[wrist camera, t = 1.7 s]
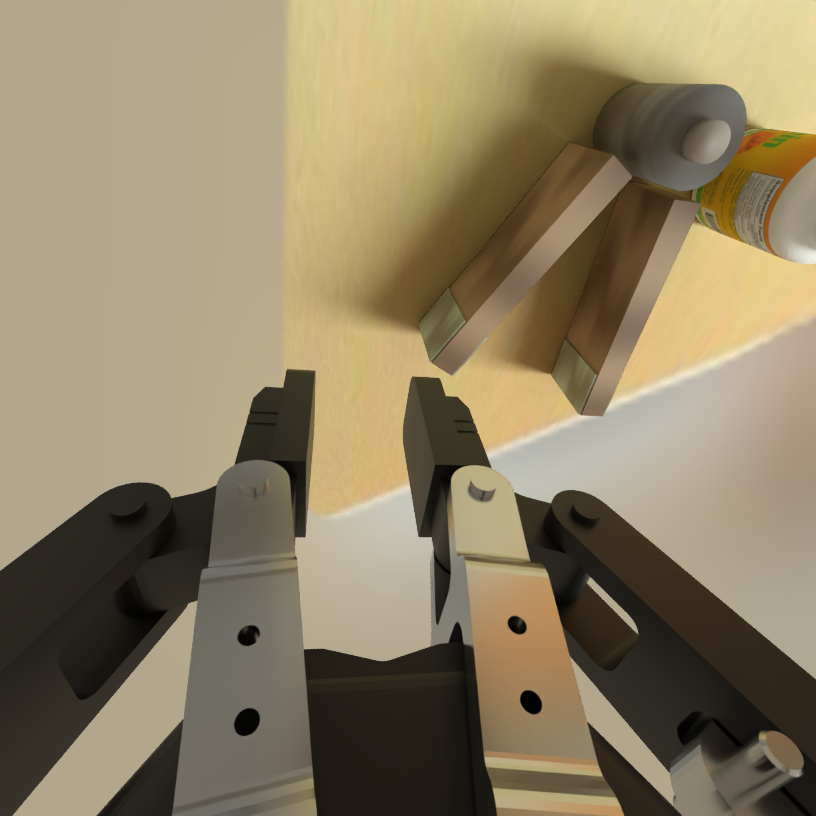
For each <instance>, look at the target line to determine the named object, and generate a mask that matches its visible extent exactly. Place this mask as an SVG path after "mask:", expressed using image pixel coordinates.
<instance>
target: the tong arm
mask: <svg viewBox="0 0 816 816" xmlns="http://www.w3.org/2000/svg"><path fill="white" fill-rule="evenodd" d="M631 178H632V175H631V174H630V173H629V172H628V171H627V170H626V169H625V167H624V166H623V165H622V164H621V163H620V162H619V160H618V159H617V158H616V157H615V156H614V155H613V154H609V153H605V152H602V151H598V150H595V149H591V148H588V147H584V146H580V145H577V144H573V143H570V142H569V144H568V145H567V146H566V147H565V148H564V150H563V151H562V152H561V153H560V155H559V156H558V157H557V158H556V159H555V161H554V162H553V163H552V164H551V165H550V167H549V168H548V169H547V170H546V172H545V173H544V174H543V175H542V176H541V178H540V179H539V180H538V181H537V183H536V184H535V185H534V186H533V187H532V189H531V190H530V191H529V192H528V194H527V195H526V196H525V197H524V198H523V200H522V201H521V202H520V203H519V205H518V206H517V207H516V208H515V209H514V211H513V212H512V213H511V214H510V215H509V217H508V218H507V219H506V220H505V222H504V223H503V224H502V225H501V226H500V228H499V229H498V230H497V231H496V233H495V234H494V235H493V236H492V237H491V239H490V240H489V241H488V242H487V244H486V245H485V246H484V247H483V248H482V250H481V251H480V252H479V253H478V255H477V256H476V257H475V258H474V259H473V261H472V262H471V263H470V264H469V266H468V267H467V268H466V269H465V270H464V272H463V273H462V274H461V275H460V276H459V278H458V279H457V280H456V281H455V283H454V284H453V285H452V286H451V287H450V289H449V288H448V289H447V290H446V291H445V292H444V293H443V295H442V296H441V297H440V298H439V300H438V301H437V302H436V303H435V304H434V306H433V307H432V308H431V309H430V311H429V312H428V313H427V314H426V315H425V317H424V318H423V319H422V320H421V322H420V323H419V324H418V325H419V328H420V331H421V334H422V338H423V341H424V344H425V347H426V351H427V354H428V357H429V360H430V361H431V362H432V363H433V364H434V365H436V366H437V367H439V368H441V369H442V370H444V371H445V372H447V373H448V374H450V375H453V376H454V375H455V373H456V372H457V371H458V370H459V369H460V368H461V367H462V366H463V365H464V364H465V362H466V361H467V360H468V359H469V358H470V357H471V356H472V355H473V354H474V353H475V352H476V350H477V349H478V348H479V347H480V346H481V345H482V344H483V343H484V342H485V341H486V339H487V338H488V335H489V334H490V333H491V332H492V331H493V330H494V329H495V327H496V326H497V325H498V324H499V323H500V322H501V321H502V320H503V319H504V318H505V316H506V315H507V314H508V313H509V312H510V311H511V310H512V309H513V308H514V307H515V305H516V304H517V303H518V302H519V301H520V300H521V299H522V298H523V297H524V296H525V294H526V293H527V292H528V291H529V290H530V289H531V288H532V287H533V286H534V285H535V284H536V282H537V281H538V280H539V279H540V278H541V277H542V276H543V275H544V274H545V273H546V271H547V270H548V269H549V268H550V267H551V266H552V265H553V264H554V263H555V262H556V260H557V259H558V258H559V257H560V256H561V255H562V254H563V253H564V252H565V251H566V249H567V248H568V247H569V246H570V245H571V244H572V243H573V242H574V241H575V240H576V238H577V237H578V236H579V235H580V234H581V233H582V232H583V231H584V230H585V229H586V228H587V226H588V225H589V224H590V223H591V222H592V221H593V220H594V219H595V218H596V217H597V215H598V214H599V213H600V212H601V211H602V210H603V209H604V208H605V207H606V206H607V204H608V203H609V202H610V201H611V200H612V199H613V198H614V197H615V196H616V195H617V193H618V192H619V191H620V190H621V189H622V188H623V187H624V186H625V185H626V184H627V182H628V181H629V180H630V179H631Z"/></svg>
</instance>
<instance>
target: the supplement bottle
mask: <svg viewBox="0 0 816 816" xmlns="http://www.w3.org/2000/svg"><path fill="white" fill-rule="evenodd" d="M692 200H693V201H696V202H699V203H702V204H701V206H700V208H699V210H698V212H697V215H696V217H697V219H698V220H699V221H700V222H701V223H702V224H703V225H704V226H706V227H708V228H710V229H712V230H714V231H716V232H719V233H721V234H724V235H726V236H728V237H731V238H734V239H736V240H738V241H741V242H743V243H746V244H748V245H751V246H753V247H756V248H758V249H761V250H763V251H766V252H768V253H771V254H773V255H775V256H778V257H780V258H782V259H785V260H788V261H792V262H796V263H801V264H814V263H816V135H813V134H804V133H796V132H788V131H780V130H773V129H751V130H747V131H745V133H744V136H743V139H742V142H741V144H740V147H739V149H738V151H737V152H736V154H735V156H734V157H733V159H732V160H731V162H730V163H729V164H728V166H727V167H726V168H725V169H724V170H723V171H722V172H721V173H720V174H719V175H718V176H717V177H715V178H714V179H713V180H712V181H710V182H708V183H707V184H705V185H703V186H701V187H699V188H696V189H693V192H692Z"/></svg>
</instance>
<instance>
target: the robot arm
mask: <svg viewBox="0 0 816 816" xmlns="http://www.w3.org/2000/svg"><path fill="white" fill-rule="evenodd" d="M314 415H315V371H310V370H293V369H287V371H286V376H285V381H284V387H283V388H275V387H265V388H264V389H262V390H261V391H260V392H259V393H258V394H257V395H256V396H255V397H254V398H253V401H252V405H251V408H250V414H249V415H248V419H247V424H246V426H245V430H244V433H243V437H242V440H241V444H240V447H239V451H238V455H237V458H236V462H235V465H234V466H233V467H231V468H229V469H228V470H226V471H225V472H224V473H223V474H222V475H221V477H220V478H219V480H218V483H217V485H216V486H214V487H212V488H210V489H207V490H205V491H201V492H198V493H194V494H189V495H185V496H180V497H175V498H171V497H170V494H169V493H168V492H167V491H166V490H165V489H164V488H162V487H160V486H158V485H155V484H152V483H130V484H125V485H121V486H118V487H115V488H113V489H110V490H108V491H107V492H105V493H103V494H102V495H100V496H99V497H97V498H96V499H95V500H93V501H92V502H90V503H89V504H88V505H87V506H85V507H84V508H83V509H82V510H80V511H79V512H77V513H76V514H75V515H73V516H72V517H71V518H69V519H68V520H67V521H66V522H64V523H63V524H61V525H60V526H59V527H58V528H56V529H55V530H54V531H52V532H51V533H50V534H48V535H47V536H46V537H44V538H43V539H42V540H40V541H39V542H38V543H37V544H35V545H34V546H33V547H31V548H30V549H29V550H27V551H26V552H24V553H23V554H22V555H21V556H19V557H18V558H17V559H15V560H14V561H13V562H11V563H10V564H9V565H7V566H6V567H5V568H4V569H2V570H1V571H0V816H12V815H13V814H14V813H15V812H16V811H17V809H18V808H19V807H20V806H21V805H22V803H23V802H24V801H25V800H26V799H27V797H28V796H29V795H30V794H31V793H32V791H33V790H34V789H35V788H36V787H37V786H38V784H39V783H40V782H41V781H42V780H43V778H44V777H45V776H46V775H47V774H48V772H49V771H50V770H51V769H52V768H53V766H54V765H55V764H56V763H57V761H58V760H59V759H60V758H61V757H62V756H63V754H64V753H65V752H66V751H67V750H68V748H69V747H70V746H71V745H72V744H73V742H74V741H75V740H76V739H77V738H78V736H79V735H80V734H81V733H82V732H83V731H84V729H85V728H86V727H87V726H88V724H89V723H90V722H91V721H92V720H93V719H94V717H95V716H96V715H97V714H98V713H99V711H100V710H101V709H102V708H103V707H104V705H105V704H106V703H107V702H108V701H109V700H110V698H111V697H112V696H113V695H114V694H115V692H116V691H117V690H118V689H119V688H120V686H121V685H122V684H123V683H124V682H125V680H126V679H127V678H128V677H129V676H130V674H131V673H132V672H133V671H134V670H135V668H136V667H137V666H138V665H139V664H140V662H141V661H142V660H143V659H144V658H145V657H146V655H147V654H148V653H149V652H150V650H151V649H152V648H153V647H154V646H155V645H156V643H157V642H158V641H159V640H160V639H161V637H162V636H163V635H164V634H165V633H166V631H167V630H168V629H169V628H170V627H171V625H172V624H173V623H174V622H175V621H176V620H177V618H178V617H179V616H180V615H181V613H182V612H183V611H184V610H185V608H186V607H187V605H188V603H191V602H194V601H197V600H198V602H197V610H196V618H195V627H194V635H193V643H192V652H191V661H190V669H189V678H188V686H187V695H186V703H185V711H184V719H183V720H182V721H181V722H180V723H179V724H178V725H177V727H176V728H175V729H174V730H173V731H172V732H171V733H170V734H169V735H168V737H167V738H166V739H165V740H164V741H163V742H162V743H161V744H160V746H159V747H158V748H157V749H156V750H155V751H154V752H153V753H152V754H151V756H150V757H149V758H148V759H147V760H146V761H145V762H144V763H143V764H142V766H141V767H140V768H139V769H138V770H137V771H136V772H135V773H134V775H133V776H132V777H131V778H130V779H129V780H128V781H127V783H126V784H125V785H124V786H123V787H122V788H121V789H120V790H119V792H117V794H116V795H115V796H114V797H113V798H112V799H111V800H110V801H109V802H108V804H107V805H106V806H105V807H104V808H103V809H102V810H101V811H100V812H99V814H98V815H97V816H816V679H814V678H813V677H812V676H811V675H810V674H809V673H807V672H806V671H805V670H804V669H803V668H801V667H800V666H799V665H798V664H797V663H795V662H794V661H793V660H792V659H791V658H789V657H788V656H787V655H786V654H785V653H783V652H782V651H781V650H780V649H779V648H777V647H776V646H775V645H774V644H772V643H771V642H770V641H769V640H768V639H767V638H765V637H764V636H763V635H762V634H760V633H759V632H758V631H757V630H756V629H755V628H753V627H752V626H751V625H750V624H749V623H747V622H746V621H745V620H744V619H742V618H741V617H740V616H739V615H738V614H737V613H735V612H734V611H733V610H732V609H730V608H729V607H728V606H727V605H726V604H725V603H723V602H722V601H721V600H720V599H719V598H717V597H716V596H715V595H714V594H713V593H711V592H710V591H709V590H708V589H707V588H706V587H704V586H703V585H702V584H701V583H699V582H698V581H697V580H696V579H695V578H693V577H692V576H691V575H690V574H689V573H688V572H686V571H685V570H684V569H683V568H681V567H680V566H679V565H678V564H677V563H675V562H674V561H673V560H672V559H671V558H670V557H668V556H667V555H666V554H665V553H664V552H662V551H661V550H660V549H659V548H657V547H656V546H655V545H654V544H653V543H652V542H650V541H649V540H648V539H647V538H645V537H644V536H643V535H642V534H640V533H639V532H638V531H637V530H635V528H633V527H632V526H631V525H630V524H629V523H628V522H626V521H625V520H624V519H623V518H622V517H620V516H619V515H618V514H617V513H615V512H614V511H613V510H612V509H611V508H610V507H608V506H607V505H606V504H605V503H603V502H602V501H601V500H599V499H597V498H596V497H594V496H592V495H590V494H587V493H584V492H580V491H575V490H567V491H562V492H560V493H558V494H557V495H556V496H555V497H554V498H553V500H552V502H551V504H550V503H547V502H543V501H539V500H535V499H532V498H528V497H525V496H521V495H519V494H517V493H515V492H514V490H513V487H512V485H511V484H510V482H509V481H508V480H507V479H506V478H505V477H504V476H503V475H502V474H500V473H499V472H497V471H495V470H493V469H492V468H491V465H490V463H489V460H488V457H487V455H486V452H485V450H484V447H483V444H482V442H481V439H480V436H479V434H477V429H476V426H475V423H473V418H472V416H471V413H470V410H469V408H468V407H467V406H466V405H465V404H464V403H463V402H462V401H461V400H460V399H459V398H458V397H450V396H445V393H444V390H443V386H442V383H441V380H440V379H439V378H430V377H412V379H411V382H410V387H409V393H408V399H407V406H406V412H405V418H404V425H403V445H404V451H405V457H406V463H407V469H408V475H409V481H410V487H411V494H412V499H413V506H414V512H415V518H416V524H417V530H418V536H419V537H432V541H433V547H434V548H433V552H432V555H431V559H430V573H431V574H430V575H431V577H430V578H431V625H432V626H431V628H432V632H431V647H428V648H425V649H422V650H419V651H416V652H413V653H410V654H407V655H404V656H401V657H398V658H396V659H392V660H389V661H376V660H371V659H367V658H362V657H358V656H353V655H349V654H345V653H340V652H336V651H331V650H326V649H305V650H304V647H303V635H302V620H301V607H300V593H299V580H298V566H297V558H296V556H295V537H305V535H306V523H307V511H308V499H309V487H310V475H311V463H312V451H313V438H314ZM590 577H591V578H592V579H593V580H594V581H595V582H596V583H597V584H598V585H599V586H600V587H601V588H602V589H604V591H605V592H606V593H607V594H608V595H609V596H610V597H611V598H612V599H613V600H614V601H615V602H616V603H617V604H618V605H619V606H621V608H622V609H623V610H624V611H626V612H627V613H628V615H629V616H630V617H631V618H632V619H633V620H634V622H635V624H636V626H637V629H638V633H639V635H638V634H637V633H636V632H635V631H634V630H632V629H631V627H629V625H627V623H626V622H624V621H623V619H621V617H620V616H619V615H618V614H617V613H616V612H615V611H614V610H613V609H612V608H611V607H610V606H609V605H608V604H607V603H606V602H605V601H604V600H602V598H601V597H600V596H599V595H598V594H597V593H596V592H595V591H594V590H593V589H592V588H591V587H590V586H589V585H588V584H587V581H588V580H589V578H590ZM570 657H571V658H572V659H573V660H574V661H575V662H576V664H577V665H578V666H579V667H580V668H581V669H582V671H583V672H584V673H585V674H586V675H587V677H588V678H589V679H590V680H591V681H592V682H593V683H594V685H595V686H596V687H597V688H598V689H599V691H600V692H601V693H602V694H603V695H604V696H605V697H606V699H607V700H608V701H609V702H610V703H611V705H612V706H613V707H614V708H615V709H616V711H617V712H618V713H619V714H620V715H621V716H622V718H623V719H624V720H625V721H626V722H627V723H628V724H629V726H630V727H631V728H632V729H633V730H634V732H635V733H636V734H637V735H638V736H639V737H640V739H641V740H642V741H643V742H644V743H645V745H646V746H647V747H648V748H649V749H650V750H651V752H652V753H653V754H654V755H655V756H656V757H657V759H658V760H659V761H660V762H661V763H662V764H663V766H664V767H665V768H666V769H667V770H668V772H669V773H670V778H671V783H672V787H673V790H674V794H675V795H674V797H673V805H674V807H673V806H672V805H671V804H670V803H669V802H668V801H667V800H666V799H665V798H664V797H663V796H662V795H661V794H660V793H659V792H658V791H657V790H656V789H655V788H654V787H653V786H652V785H651V784H650V783H649V782H648V781H647V780H646V779H645V778H644V777H643V776H642V775H641V774H640V773H639V772H638V771H637V770H636V769H635V768H634V767H633V766H632V765H631V764H630V763H629V762H628V761H627V760H625V758H624V757H623V756H621V754H620V753H619V752H618V751H617V750H616V749H614V747H613V746H612V745H610V744H609V743H608V742H607V741H606V740H605V739H604V738H603V737H602V736H601V735H600V734H599V733H598V732H597V731H596V730H595V729H594V728H593V727H592V726H591V725H590V724H589V723H588V722H587V720H586V716H585V712H584V708H583V705H582V701H581V697H580V694H579V689H578V686H577V682H576V678H575V674H574V670H573V667H572V663H571V659H570Z"/></svg>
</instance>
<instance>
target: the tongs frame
mask: <svg viewBox="0 0 816 816" xmlns="http://www.w3.org/2000/svg"><path fill="white" fill-rule="evenodd" d="M745 128H746V108H745V104H744V101H743V99H742V98H741V96H740V95H739V93H738V92H737V91H735V90H734V89H733V88H731V87H729V86H725V85H718V84H650V83H639V84H633V85H630V86H627V87H625V88H623V89H621V90H620V91H618V92H617V93H616V94H615V95H614V96H612V97H611V99H610V100H609V101H608V102H607V103H606V105H605V106H604V107H603V109H602V111H601V112H600V115H599V117H598V119H597V122H596V125H595V129H594V137H593V142H594V149H595V150H598V151H602V152H605V153H609V154H613V155H614V156H615V157H616V158H617V159H618V160H619V162H620V163H621V164H622V165H623V166H624V167H625V169H626V170H627V171H628V172H629V173H630V174H631V175H632V176H634V177H637V178H640V179H643V180H646V181H649V182H652V183H655V184H658V185H661V186H664V187H667V188H670V189H673V190H677V191H688V190H693V189H696V188H699V187H701V186H703V185H705V184H707V183H708V182H710V181H712V180H713V179H714V178H715V177H717V176H718V175H719V174H720V173H721V172H722V171H723V170H724V169H725V168H726V167H727V166H728V164H729V163H730V162H731V160H732V159H733V157H734V156H735V154H736V152H737V151H738V149H739V147H740V144H741V142H742V139H743V136H744V133H745ZM701 204H702V203H699V202H696V201H693V200H690V199H688V198H685V197H682V196H679V195H676V194H673V193H670V192H667V191H664V190H662V189H659V188H656V187H653V186H650V185H647V184H640V183H633V182H627V184H626V185H625V186H624V187H623V188H622V189H621V190H620V193H619V196H618V198H617V201H616V204H615V207H614V209H613V212H612V215H611V217H610V220H609V223H608V226H607V228H606V231H605V234H604V237H603V239H602V242H601V245H600V247H599V250H598V253H597V256H596V258H595V261H594V264H593V267H592V269H591V272H590V275H589V277H588V280H587V283H586V286H585V288H584V291H583V294H582V297H581V299H580V302H579V305H578V307H577V310H576V313H575V316H574V318H573V321H572V324H571V327H570V329H569V332H568V335H567V337H566V339H564V342H563V345H562V348H561V350H560V353H559V356H558V359H557V361H556V364H555V367H554V370H553V372H552V375H551V376H552V377H553V379H554V380H555V381H556V383H557V384H558V386H559V387H560V389H561V390H562V391H563V393H564V394H565V396H566V397H567V399H568V400H569V401H570V403H571V404H572V406H573V407H574V408H575V410H576V411H577V413H578V414H581V415H587V416H603V415H604V414H605V412H606V410H607V408H608V406H609V403H610V401H611V399H612V397H613V395H614V393H615V391H616V388H617V386H618V384H619V382H620V380H621V378H622V373H623V371H624V369H625V367H626V365H627V363H628V360H629V358H630V356H631V354H632V352H633V350H634V348H635V345H636V343H637V341H638V339H639V337H640V335H641V333H642V330H643V328H644V326H645V324H646V322H647V320H648V318H649V315H650V313H651V311H652V309H653V307H654V305H655V303H656V300H657V298H658V296H659V294H660V292H661V290H662V288H663V285H664V283H665V281H666V279H667V277H668V275H669V273H670V270H671V268H672V266H673V264H674V262H675V260H676V258H677V255H678V253H679V251H680V249H681V247H682V245H683V242H684V240H685V238H686V236H687V234H688V232H689V230H690V227H691V225H692V223H693V221H694V219H695V217H696V215H697V212H698V210H699V208H700V206H701Z"/></svg>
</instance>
